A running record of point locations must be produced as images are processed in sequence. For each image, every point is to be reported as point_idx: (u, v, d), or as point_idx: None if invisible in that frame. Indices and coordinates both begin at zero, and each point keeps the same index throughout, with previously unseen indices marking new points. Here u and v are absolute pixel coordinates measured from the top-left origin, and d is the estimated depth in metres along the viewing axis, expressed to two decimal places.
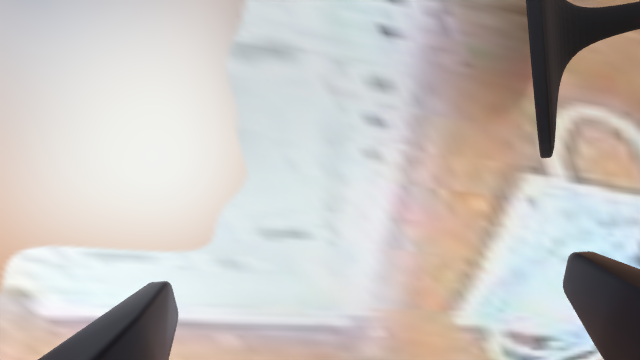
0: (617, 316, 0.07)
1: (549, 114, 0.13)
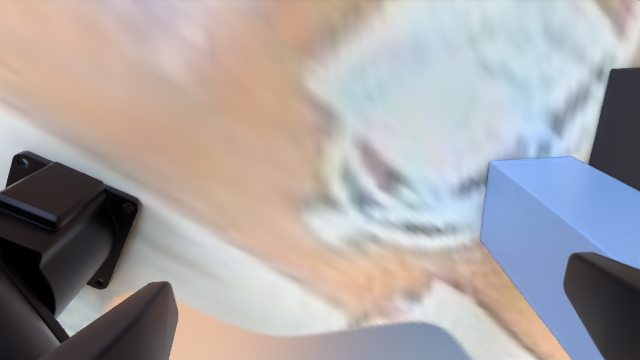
0: (617, 316, 0.07)
1: None
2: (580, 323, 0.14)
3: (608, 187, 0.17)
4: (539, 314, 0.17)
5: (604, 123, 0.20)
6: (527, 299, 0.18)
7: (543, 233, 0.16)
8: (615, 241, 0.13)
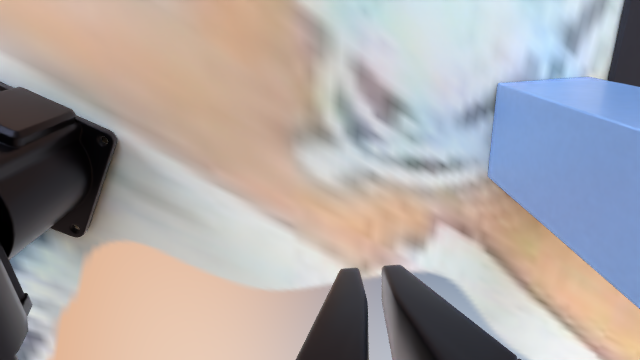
0: (396, 332, 0.07)
1: None
2: (609, 226, 0.12)
3: (632, 92, 0.15)
4: (558, 233, 0.15)
5: (623, 35, 0.18)
6: (543, 222, 0.16)
7: (562, 139, 0.14)
8: None
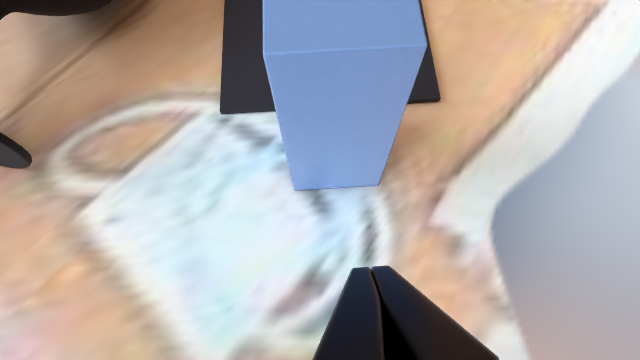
0: (383, 332, 0.07)
1: None
2: (360, 108, 0.15)
3: None
4: (392, 134, 0.17)
5: (261, 108, 0.24)
6: (389, 144, 0.18)
7: (311, 146, 0.18)
8: None
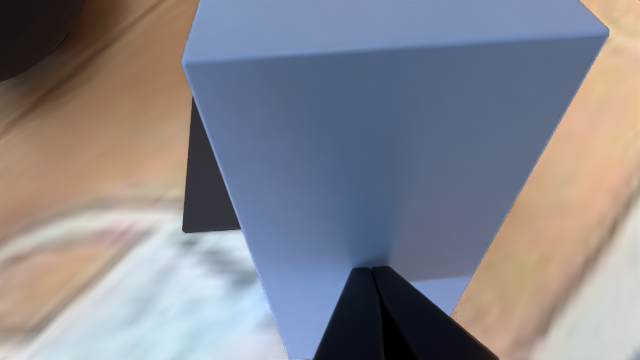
0: (383, 332, 0.07)
1: None
2: (416, 211, 0.07)
3: None
4: (471, 264, 0.09)
5: None
6: (462, 284, 0.09)
7: (314, 291, 0.09)
8: None
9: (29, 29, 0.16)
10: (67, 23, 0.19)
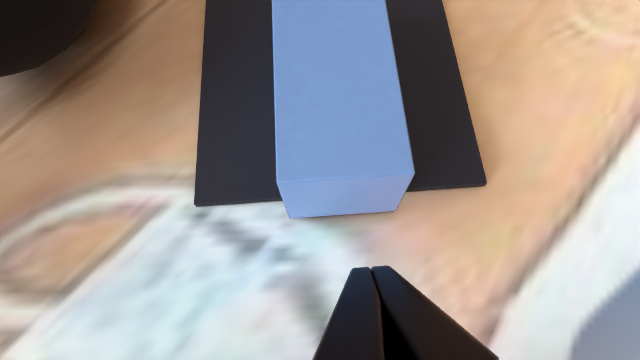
0: (383, 332, 0.07)
1: None
2: None
3: None
4: (386, 33, 0.16)
5: (249, 199, 0.18)
6: (390, 52, 0.16)
7: (302, 54, 0.16)
8: None
9: (54, 22, 0.18)
10: (86, 17, 0.20)
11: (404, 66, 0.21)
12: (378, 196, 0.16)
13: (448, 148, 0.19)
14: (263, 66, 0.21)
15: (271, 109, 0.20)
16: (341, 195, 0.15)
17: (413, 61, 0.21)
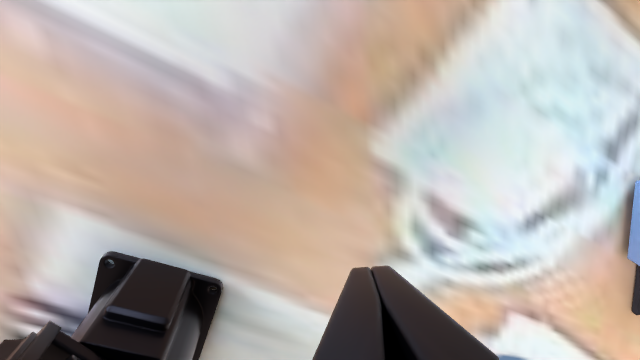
0: (383, 332, 0.07)
1: None
2: None
3: None
4: None
5: None
6: None
7: None
8: None
9: None
10: None
11: None
12: None
13: None
14: None
15: None
16: None
17: None
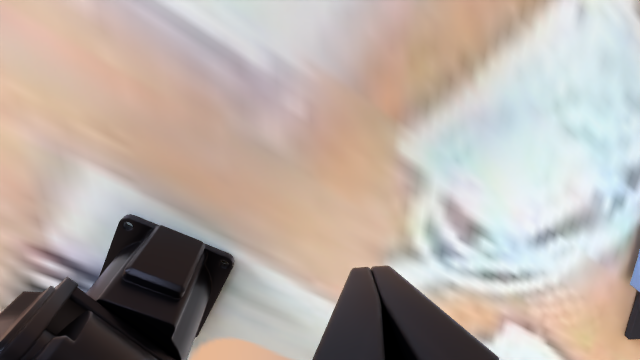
0: (383, 332, 0.07)
1: None
2: None
3: None
4: None
5: None
6: None
7: None
8: None
9: None
10: None
11: None
12: None
13: None
14: None
15: None
16: None
17: None
